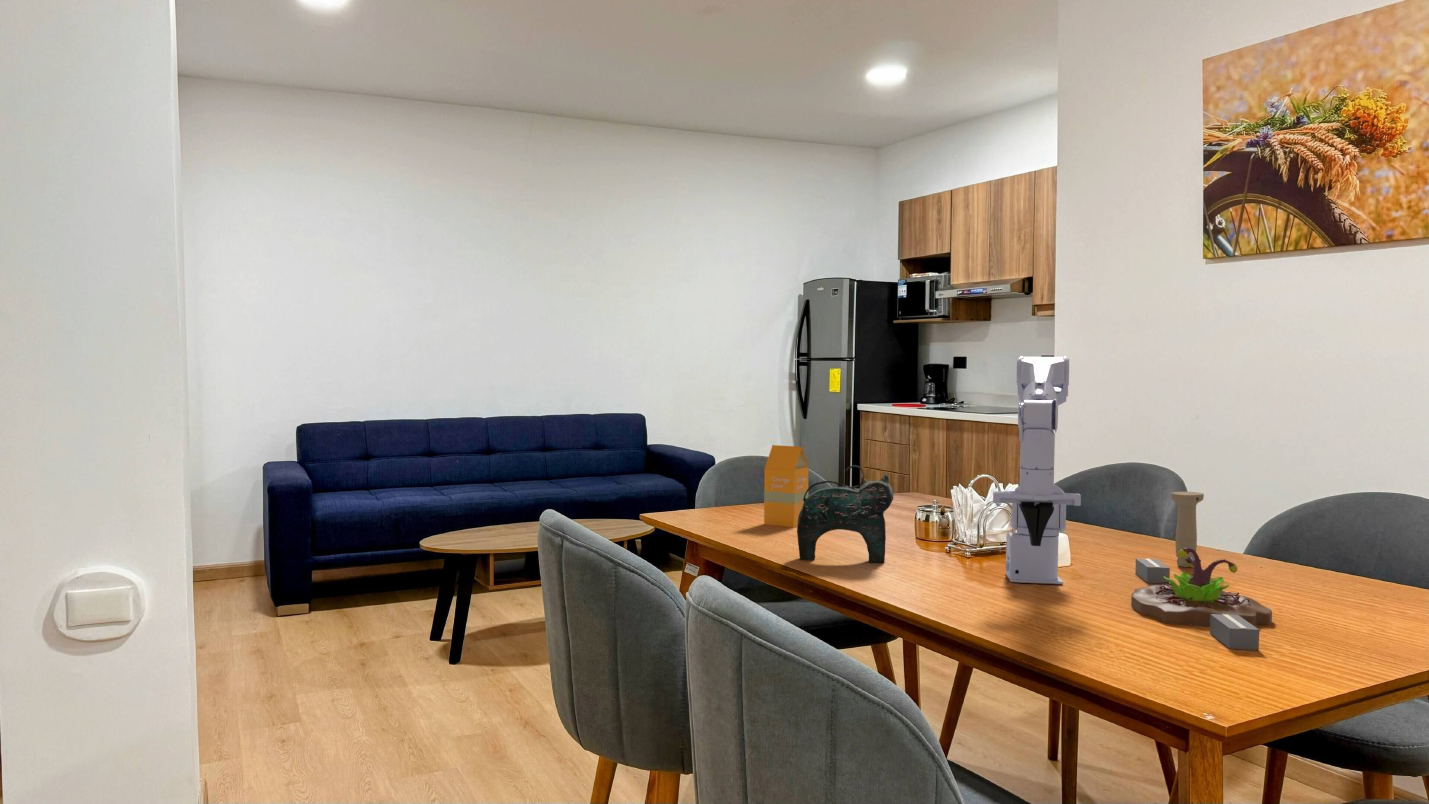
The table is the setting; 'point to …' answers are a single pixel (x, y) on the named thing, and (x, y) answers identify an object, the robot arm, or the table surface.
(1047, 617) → the table surface
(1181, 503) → the handle
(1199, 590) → the plant
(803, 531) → the ceramic cat
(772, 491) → the orange juice
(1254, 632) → the grey blocks
